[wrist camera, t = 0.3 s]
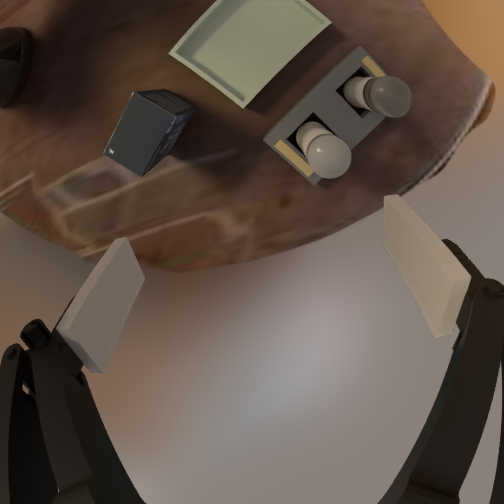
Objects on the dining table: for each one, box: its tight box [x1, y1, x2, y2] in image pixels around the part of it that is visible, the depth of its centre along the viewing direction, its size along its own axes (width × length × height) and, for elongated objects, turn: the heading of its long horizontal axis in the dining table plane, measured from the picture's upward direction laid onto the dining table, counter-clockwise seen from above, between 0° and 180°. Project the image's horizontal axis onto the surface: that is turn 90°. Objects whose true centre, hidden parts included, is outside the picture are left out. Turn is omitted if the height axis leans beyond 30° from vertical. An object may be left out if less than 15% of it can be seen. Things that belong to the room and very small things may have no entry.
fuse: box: [295, 121, 351, 179], centre depth 31 cm, size 4×4×12 cm
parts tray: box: [169, 0, 332, 108], centre depth 28 cm, size 16×12×2 cm
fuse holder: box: [263, 46, 388, 186], centre depth 34 cm, size 18×9×2 cm, turn 139°
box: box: [104, 89, 197, 177], centre depth 31 cm, size 8×6×11 cm
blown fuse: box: [342, 76, 412, 118], centre depth 28 cm, size 4×4×12 cm
